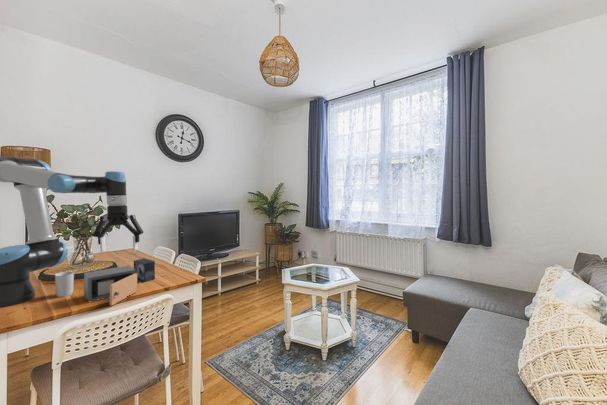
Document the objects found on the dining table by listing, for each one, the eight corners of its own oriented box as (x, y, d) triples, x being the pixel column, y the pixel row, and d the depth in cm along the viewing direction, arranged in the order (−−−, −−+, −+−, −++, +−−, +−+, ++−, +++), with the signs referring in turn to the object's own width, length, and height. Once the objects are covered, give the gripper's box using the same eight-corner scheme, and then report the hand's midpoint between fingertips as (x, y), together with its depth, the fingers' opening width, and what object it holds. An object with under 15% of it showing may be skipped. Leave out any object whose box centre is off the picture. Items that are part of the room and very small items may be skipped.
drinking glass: (74, 294, 122) (74, 273, 121) (54, 298, 117) (54, 276, 116) (73, 290, 126) (73, 270, 126) (54, 293, 122) (54, 273, 121)
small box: (132, 278, 145) (132, 260, 145) (144, 275, 151) (144, 257, 150) (143, 282, 140) (143, 263, 140) (155, 279, 146) (155, 260, 146)
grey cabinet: (88, 302, 114) (88, 278, 114) (84, 295, 121) (84, 272, 120) (135, 291, 128) (135, 269, 127) (129, 286, 134) (129, 265, 134)
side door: (114, 305, 111) (114, 285, 111) (109, 305, 111) (109, 285, 111) (139, 291, 127) (139, 273, 127) (135, 291, 127) (135, 273, 127)
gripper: (81, 206, 113) (84, 254, 114) (142, 204, 118) (145, 250, 118) (92, 205, 121) (94, 250, 122) (149, 203, 125) (151, 247, 126)
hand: (119, 250), depth 120 cm, fingers open, 13 cm apart
